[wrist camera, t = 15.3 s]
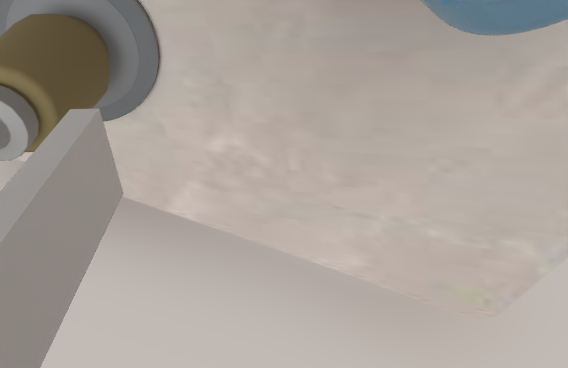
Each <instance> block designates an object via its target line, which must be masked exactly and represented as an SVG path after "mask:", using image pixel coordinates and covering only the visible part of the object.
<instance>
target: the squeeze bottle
mask: <svg viewBox="0 0 568 368" xmlns="http://www.w3.org/2000/svg"><path fill="white" fill-rule="evenodd" d="M109 77H110V63H109V54H108V50H107V46H106V43H105V41H104V40H103V38H102V37H101V36H100V34H99V33H98V31H97V30H96V29H94V28H93V27H92V26H91V25H89V24H88V23H87V22H85V21H83V20H80V19H77V18H74V17H72V16H66V15H59V14H30V15H29V16H27V17H25V18H23V19H21V20H20V21H18V22H16V23H14V24H13V25H12V26H11V27H10V28H9V29H8V30H7V31H6V32H5V33H4V34H3V35H2V36H1V37H0V161H5V160H12V159H14V158H17V157H19V156H21V155H22V154H23V153H24V152H34V151H35V150H36V149H37V148H38V147H39V145H40V144H41V143H42V142H43V141H44V140H45V138H46V137H47V136H48V135H49V134H50V132H51V131H52V130H53V129H54V128H55V127H56V125H57V124H58V123H59V122H60V121H61V120H62V118H63V117H64V116H65V115H66V114H67V112H68V111H69V110H70V109H92V108H93V107H94V106H95V105H96V104H97V103H98V102H99V101H100V99H101V98H102V97H103V95H104V94H105V93H106V91H107V89H108V83H109Z"/></svg>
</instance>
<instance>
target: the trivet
mask: <svg viewBox="0 0 568 368" xmlns="http://www.w3.org/2000/svg"><path fill="white" fill-rule="evenodd" d="M30 14H59V15H66V16H72V17H74V18H77V19H80V20H83V21H85V22H87V23H88V24H89V25H91V26H92V27H93V28H94V29H96V30H97V31H98V33H99V34H100V36H101V37H102V38H103V40H104V41H105V43H106V46H107V50H108V54H109V63H110V77H109V83H108V89H107V91H106V93H105V94H104V95H103V97H102V98H101V99H100V101H99V102H98V103H97V104H96V105H95V106H94V107H93V108H92V109H100V113H101V116H102V120H103V121H109V120H113V119H116V118H119V117H122V116H124V115H126V114H128V113H129V112H131V111H132V110H134V109H135V108H136V107H137V106H138V105H140V104H141V103H142V101H143V100H144V99H145V98H146V96H147V95H148V93H149V91H150V89H151V88H152V86H153V84H154V81H155V79H156V76H157V72H158V67H159V47H158V42H157V37H156V34H155V31H154V28H153V25H152V23H151V21H150V19H149V17H148V15H147V13H146V12H145V10H144V8H143V7H142V5H141V4H140V3H139V1H138V0H0V37H1V36H2V35H3V34H4V33H5V32H6V31H7V30H8V29H9V28H10V27H11V26H12V25H13V24H14V23H16V22H18V21H20V20H21V19H23V18H25V17H27V16H29V15H30Z"/></svg>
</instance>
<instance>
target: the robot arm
mask: <svg viewBox="0 0 568 368" xmlns="http://www.w3.org/2000/svg"><path fill="white" fill-rule="evenodd" d="M421 1H422V2H423V3H424V4H425V5H426V6H427V7H428V8H430V9H431V10H432V11H433V12H434V13H435V14H436V15H437V16H438V17H439V18H440V19H442V20H443V21H444V22H445V23H447V24H449V25H450V26H453V27H455V28H457V29H459V30H462V31H464V32H468V33H472V34H478V35H508V34H515V33H521V32H527V31H530V30H534V29H538V28H542V27H546V26H549V25H552V24H555V23H558V22H560V21H563V20H566V19H568V0H421ZM122 195H123V190H122V187H121V183H120V180H119V176H118V172H117V169H116V165H115V162H114V158H113V155H112V151H111V148H110V144H109V141H108V137H107V134H106V130H105V127H104V123H103V120H102V116H101V113H100V109H70V110H69V111H68V112H67V114H66V115H65V116H64V117H63V118H62V120H61V121H60V122H59V123H58V124H57V125H56V127H55V128H54V129H53V130H52V131H51V132H50V134H49V135H48V136H47V137H46V138H45V140H44V141H43V142H42V143H41V144H40V145H39V147H38V148H37V149H36V150H35V151H34V153H33V154H32V155H31V156H30V157H29V158H28V160H27V161H26V162H25V163H24V164H23V165H22V167H21V168H20V169H19V170H18V171H17V173H16V174H15V175H14V176H13V177H12V178H11V180H10V181H9V182H8V183H7V184H6V186H5V187H4V188H3V189H2V190H1V191H0V368H40V367H41V365H42V362H43V360H44V358H45V356H46V354H47V352H48V350H49V348H50V346H51V344H52V341H53V339H54V337H55V335H56V333H57V331H58V329H59V327H60V325H61V323H62V321H63V318H64V316H65V314H66V312H67V310H68V308H69V306H70V304H71V302H72V300H73V298H74V296H75V293H76V291H77V289H78V287H79V285H80V283H81V281H82V278H83V277H84V275H85V273H86V270H87V268H88V266H89V264H90V262H91V260H92V258H93V256H94V254H95V252H96V250H97V247H98V245H99V243H100V241H101V239H102V237H103V235H104V233H105V231H106V229H107V227H108V224H109V222H110V220H111V218H112V216H113V214H114V212H115V210H116V208H117V206H118V203H119V201H120V199H121V197H122Z"/></svg>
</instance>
